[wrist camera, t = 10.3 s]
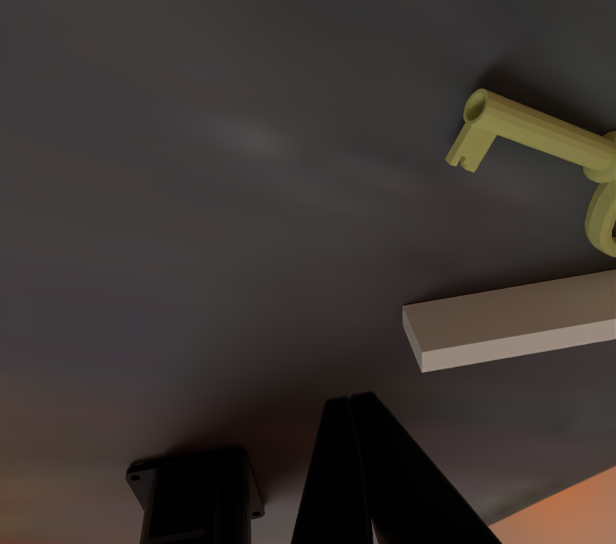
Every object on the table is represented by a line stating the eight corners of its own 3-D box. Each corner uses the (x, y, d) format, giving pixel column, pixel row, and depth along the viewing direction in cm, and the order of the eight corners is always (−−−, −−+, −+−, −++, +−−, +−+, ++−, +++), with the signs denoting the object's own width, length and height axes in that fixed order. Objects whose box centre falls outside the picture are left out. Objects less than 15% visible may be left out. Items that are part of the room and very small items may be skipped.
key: (447, 75, 18) (469, 93, 16) (756, 83, 19) (807, 101, 18) (411, 248, 22) (426, 277, 20) (668, 243, 23) (703, 270, 22)
